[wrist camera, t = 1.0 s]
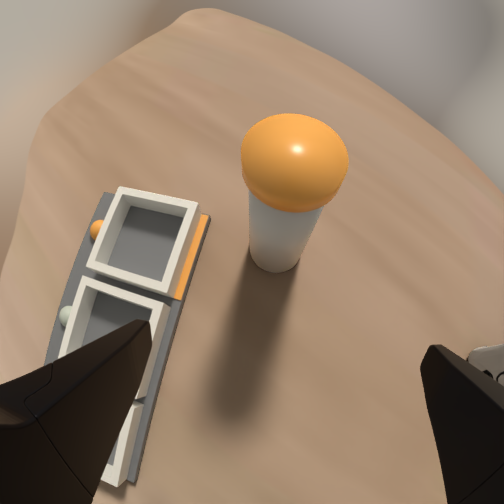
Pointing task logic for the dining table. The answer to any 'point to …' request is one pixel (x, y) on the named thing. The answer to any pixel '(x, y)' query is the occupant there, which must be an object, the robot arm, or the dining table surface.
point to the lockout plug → (288, 184)
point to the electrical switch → (489, 361)
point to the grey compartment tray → (131, 295)
